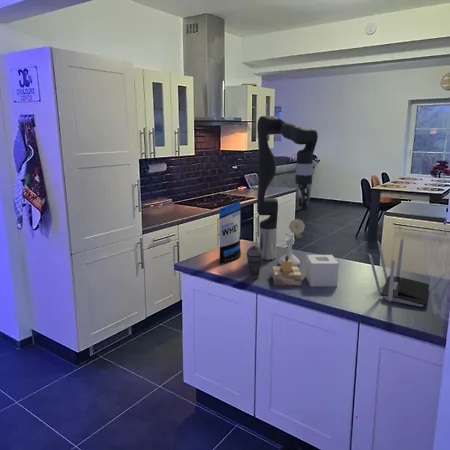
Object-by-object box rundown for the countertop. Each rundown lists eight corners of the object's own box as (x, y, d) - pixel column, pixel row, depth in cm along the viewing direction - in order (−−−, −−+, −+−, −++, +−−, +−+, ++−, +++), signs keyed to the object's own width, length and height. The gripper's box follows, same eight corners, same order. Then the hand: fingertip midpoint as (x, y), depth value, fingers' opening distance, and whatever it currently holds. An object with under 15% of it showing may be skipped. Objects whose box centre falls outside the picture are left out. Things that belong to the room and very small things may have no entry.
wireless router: (424, 315, 151) (431, 265, 146) (362, 302, 162) (366, 256, 157) (429, 284, 179) (434, 242, 174) (375, 275, 190) (379, 236, 185)
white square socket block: (305, 276, 190) (306, 254, 187) (330, 276, 189) (332, 254, 187) (310, 286, 178) (311, 263, 175) (337, 286, 178) (338, 263, 175)
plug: (281, 274, 186) (282, 254, 184) (290, 274, 186) (290, 254, 184) (282, 278, 183) (283, 257, 180) (291, 278, 182) (292, 257, 180)
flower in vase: (276, 267, 202) (277, 220, 196) (280, 260, 212) (281, 215, 206) (301, 270, 198) (303, 222, 192) (304, 262, 208) (306, 216, 202)
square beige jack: (272, 275, 191) (272, 266, 190) (297, 275, 191) (297, 266, 189) (274, 285, 179) (275, 275, 178) (301, 285, 179) (301, 275, 178)
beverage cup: (250, 273, 194) (251, 234, 189) (264, 276, 190) (264, 236, 185) (243, 278, 188) (243, 238, 183) (257, 281, 184) (258, 240, 179)
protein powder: (212, 263, 209) (211, 207, 202) (232, 250, 230) (232, 200, 222) (227, 266, 205) (227, 209, 197) (247, 252, 225) (248, 201, 218)
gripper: (293, 171, 186) (292, 205, 190) (298, 175, 172) (296, 211, 176) (309, 171, 185) (307, 205, 189) (315, 175, 172) (313, 211, 176)
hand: (302, 208), depth 183 cm, fingers open, 8 cm apart
